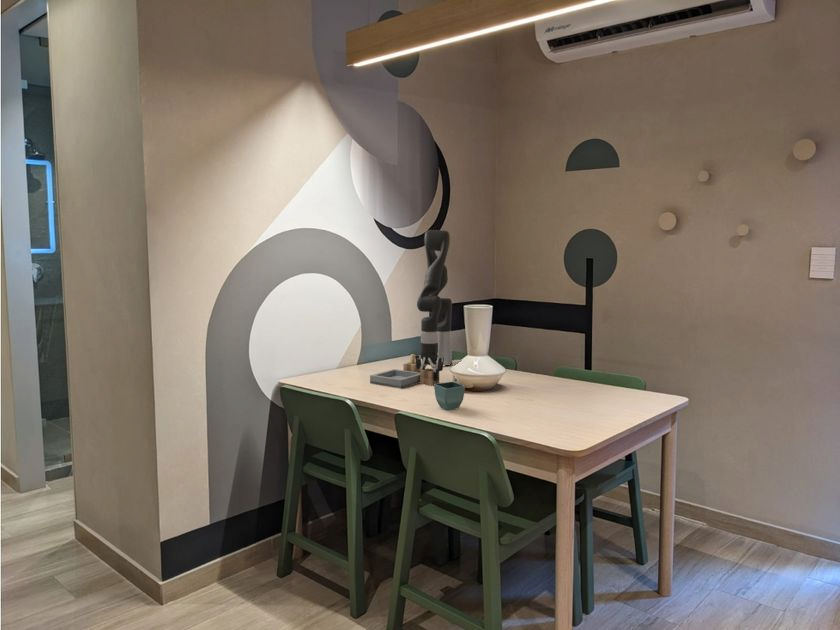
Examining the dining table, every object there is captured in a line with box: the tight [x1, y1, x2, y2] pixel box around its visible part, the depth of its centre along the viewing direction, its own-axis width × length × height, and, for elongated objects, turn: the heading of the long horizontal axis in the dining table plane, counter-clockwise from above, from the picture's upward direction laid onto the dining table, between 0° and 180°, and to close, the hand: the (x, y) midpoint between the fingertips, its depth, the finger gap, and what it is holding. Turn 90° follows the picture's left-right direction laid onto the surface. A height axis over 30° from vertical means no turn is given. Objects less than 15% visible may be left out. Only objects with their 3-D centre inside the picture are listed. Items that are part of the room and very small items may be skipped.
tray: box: [369, 368, 420, 389], centre depth 300 cm, size 17×17×4 cm
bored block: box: [419, 368, 440, 387], centre depth 297 cm, size 6×6×6 cm
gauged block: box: [402, 353, 420, 373], centre depth 312 cm, size 6×6×10 cm
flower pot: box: [433, 381, 466, 411], centre depth 255 cm, size 9×9×9 cm
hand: (429, 379), depth 296 cm, fingers closed on bored block, 6 cm apart
